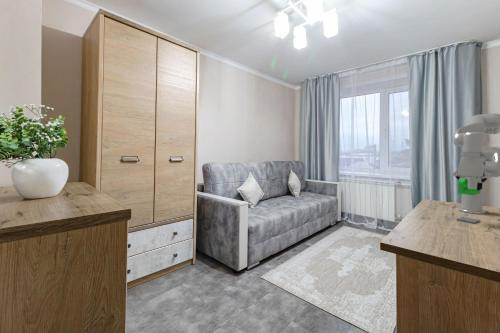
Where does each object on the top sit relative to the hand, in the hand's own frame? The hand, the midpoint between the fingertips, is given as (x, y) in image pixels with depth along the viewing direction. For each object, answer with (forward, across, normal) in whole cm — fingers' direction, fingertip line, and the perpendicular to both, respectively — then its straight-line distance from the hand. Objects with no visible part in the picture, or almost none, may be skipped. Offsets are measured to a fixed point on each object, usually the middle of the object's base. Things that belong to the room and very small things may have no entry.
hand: (470, 188), depth 122 cm
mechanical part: (+2, 0, 0) cm, 2 cm away
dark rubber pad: (+17, 0, 0) cm, 17 cm away
